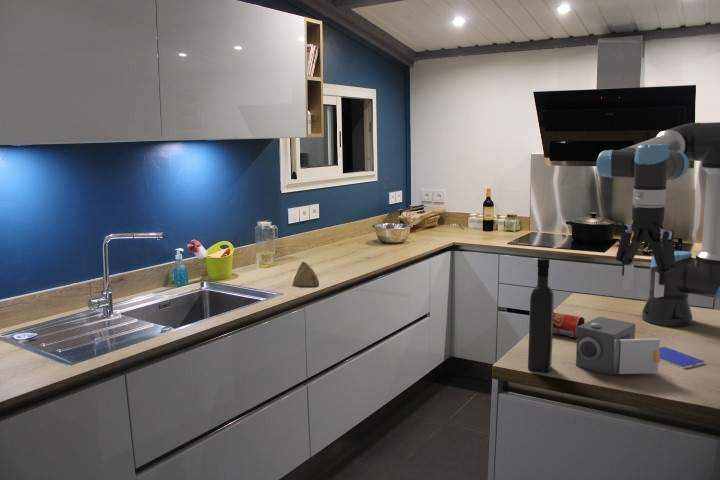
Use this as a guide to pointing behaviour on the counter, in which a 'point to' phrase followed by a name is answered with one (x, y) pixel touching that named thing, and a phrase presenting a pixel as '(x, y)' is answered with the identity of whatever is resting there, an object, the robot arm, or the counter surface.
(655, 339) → the side door
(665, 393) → the counter surface
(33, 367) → the counter surface
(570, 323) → the beverage can
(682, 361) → the hard drive
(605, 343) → the grey box with knob
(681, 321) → the robot arm
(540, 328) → the wine bottle
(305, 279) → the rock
